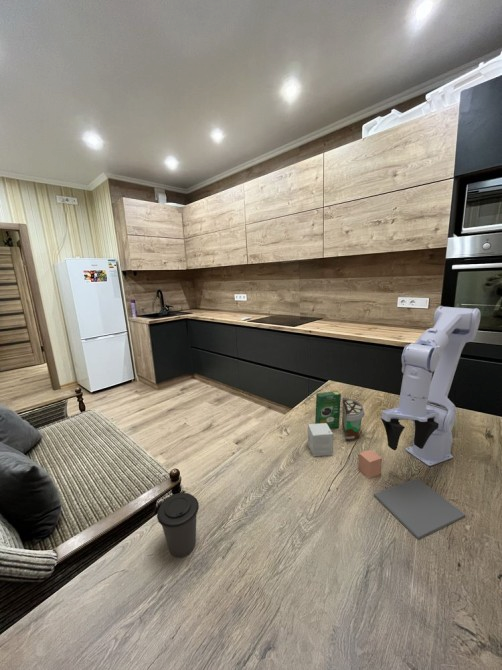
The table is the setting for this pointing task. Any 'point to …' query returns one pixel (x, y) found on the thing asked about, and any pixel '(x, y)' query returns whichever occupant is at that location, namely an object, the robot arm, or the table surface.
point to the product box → (320, 439)
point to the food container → (351, 418)
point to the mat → (419, 507)
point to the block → (369, 463)
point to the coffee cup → (179, 523)
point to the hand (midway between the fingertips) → (405, 447)
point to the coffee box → (328, 408)
